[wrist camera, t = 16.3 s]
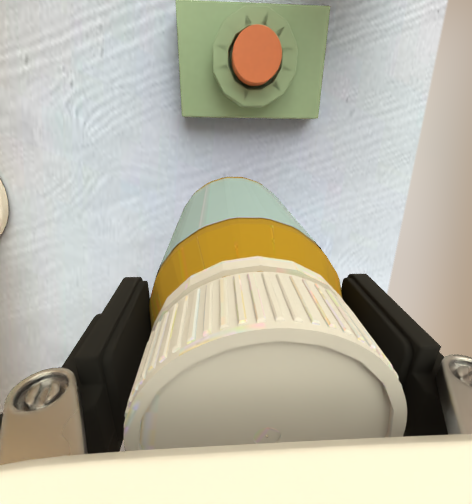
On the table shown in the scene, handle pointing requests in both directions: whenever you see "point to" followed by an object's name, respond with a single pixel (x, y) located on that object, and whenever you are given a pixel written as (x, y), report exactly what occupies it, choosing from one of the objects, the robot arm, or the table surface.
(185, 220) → the bottle
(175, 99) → the table surface
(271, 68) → the orange button cap
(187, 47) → the button housing
